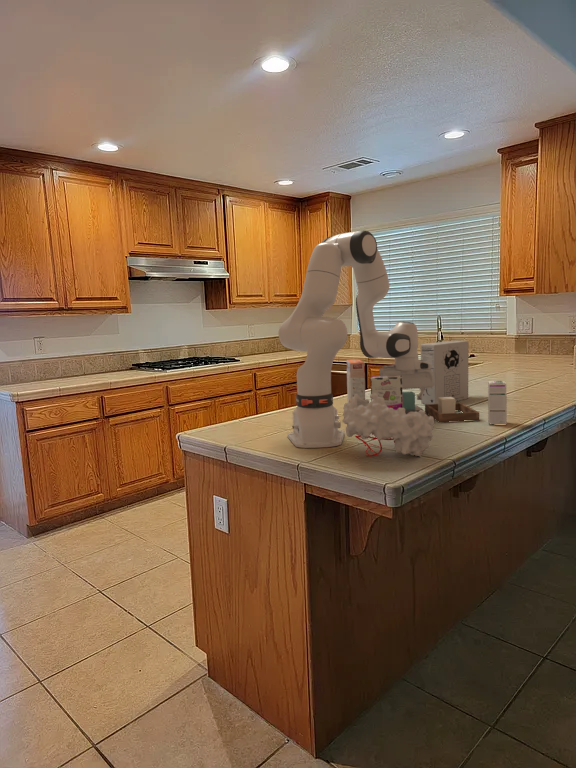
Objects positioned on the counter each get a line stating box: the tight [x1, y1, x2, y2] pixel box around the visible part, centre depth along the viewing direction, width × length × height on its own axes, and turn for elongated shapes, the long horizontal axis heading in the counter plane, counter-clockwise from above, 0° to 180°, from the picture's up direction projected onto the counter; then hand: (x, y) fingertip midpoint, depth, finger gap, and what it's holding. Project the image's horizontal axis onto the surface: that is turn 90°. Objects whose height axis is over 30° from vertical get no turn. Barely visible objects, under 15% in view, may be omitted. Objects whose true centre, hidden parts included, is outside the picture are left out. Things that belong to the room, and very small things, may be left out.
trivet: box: [405, 404, 425, 414], centre depth 201 cm, size 10×10×2 cm
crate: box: [424, 402, 480, 423], centre depth 192 cm, size 19×14×3 cm
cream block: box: [438, 397, 456, 414], centre depth 197 cm, size 5×5×6 cm
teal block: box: [402, 391, 416, 410], centre depth 201 cm, size 5×5×6 cm
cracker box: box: [346, 358, 366, 404], centre depth 204 cm, size 14×6×21 cm, turn 179°
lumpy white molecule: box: [342, 393, 435, 457], centre depth 146 cm, size 20×18×25 cm
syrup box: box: [487, 380, 508, 424], centre depth 177 cm, size 6×6×14 cm
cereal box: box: [420, 340, 469, 405], centre depth 220 cm, size 22×8×25 cm, turn 124°
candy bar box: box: [370, 375, 404, 410], centre depth 188 cm, size 11×5×16 cm, turn 76°
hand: (407, 400), depth 201 cm, fingers open, 8 cm apart
